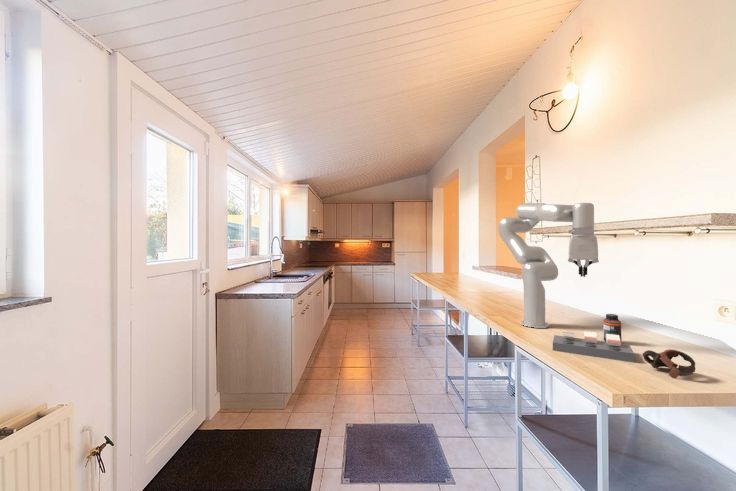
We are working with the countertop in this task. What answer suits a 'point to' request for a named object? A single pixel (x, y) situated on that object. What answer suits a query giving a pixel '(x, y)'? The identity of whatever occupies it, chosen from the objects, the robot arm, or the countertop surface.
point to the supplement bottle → (611, 326)
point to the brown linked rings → (670, 362)
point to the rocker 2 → (613, 340)
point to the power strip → (593, 348)
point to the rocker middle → (590, 337)
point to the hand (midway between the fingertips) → (582, 276)
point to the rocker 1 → (568, 335)
